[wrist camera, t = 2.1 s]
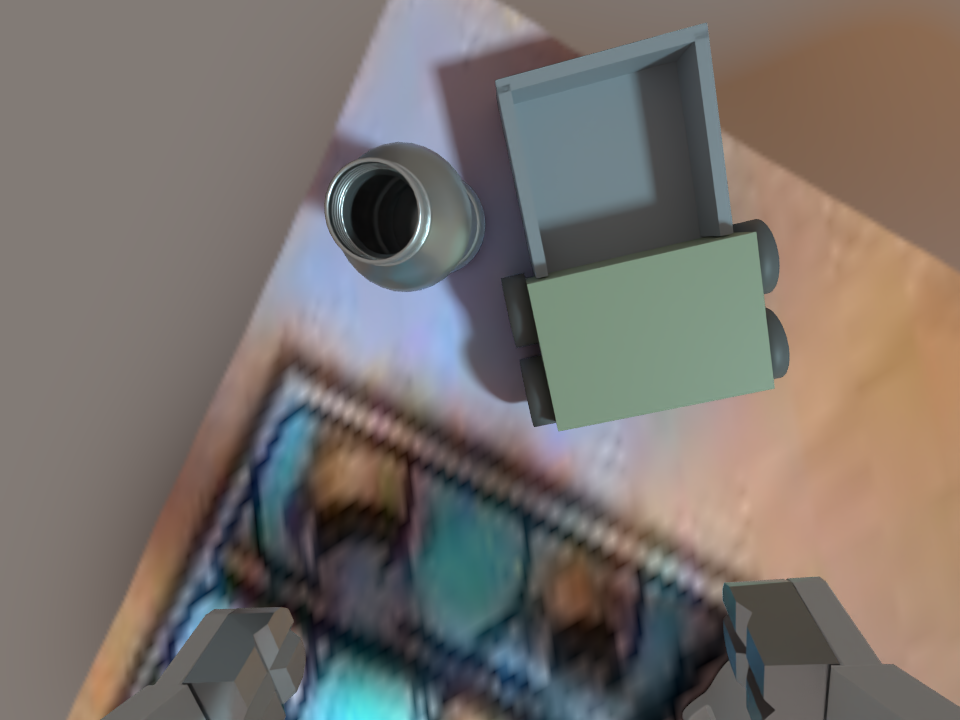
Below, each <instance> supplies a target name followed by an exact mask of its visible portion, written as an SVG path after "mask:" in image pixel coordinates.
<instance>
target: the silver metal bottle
mask: <svg viewBox="0 0 960 720" xmlns="http://www.w3.org/2000/svg"><path fill="white" fill-rule="evenodd" d="M324 207H325V219H326V224H327V227H328V229H329V232H330V234H331V236H332V238H333V239H334V241H335V243H336V244H337V245H338V246H339V247H340V248H341V249H342V251H343V252H344V254H345V256H346V257H347V259H348V261H349V262H350V263H351V264H352V265H353V267H354V268H355V269H356V270H357V271H358V272H359V273H360V274H361V275H362V276H364V277H365V278H366V279H368V280H369V281H370V282H372V283H374V284H376V285H378V286H380V287H382V288H386V289H389V290H393V291H401V292H411V291H418V290H422V289H425V288H428V287H431V286H433V285H435V284H436V283H438V282H440V281H441V280H443V279H444V278H445V277H447V276H448V275H449V274H450V273H451V272H454V271H457V270H459V269H461V268H462V267H464V266H465V265H467V264H468V263H469V262H470V261H471V260H472V259H473V258H474V256H475V255H476V254H477V252H478V251H479V248H480V246H481V244H482V242H483V238H484V234H485V216H484V211H483V208H482V204H481V202H480V200H479V198H478V196H477V194H476V193H475V192H474V191H473V189H472V188H471V187H470V186H469V185H468V184H467V183H465V182H464V181H463V180H461V179H460V177H459V175H458V174H457V172H456V171H455V170H454V169H453V167H452V166H451V165H450V164H449V163H448V162H447V161H446V160H445V159H444V158H442V157H441V156H440V155H439V154H437V153H436V152H434V151H432V150H430V149H428V148H426V147H424V146H420V145H417V144H413V143H403V142H395V143H389V144H384V145H381V146H379V147H376V148H374V149H371V150H370V151H368V152H367V153H365V154H364V155H362V156H361V157H359V158H358V159H357V160H355V161H352V162H350V163H348V164H347V165H345V166H344V167H342V168H341V169H340V170H339V171H338V172H337V174H336V175H335V176H334V178H333V179H332V181H331V182H330V184H329V187H328V190H327V192H326V197H325V203H324Z"/></svg>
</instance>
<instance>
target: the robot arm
mask: <svg viewBox="0 0 960 720" xmlns="http://www.w3.org/2000/svg"><path fill="white" fill-rule="evenodd" d="M723 602H724V604H725V607H726V609H727V612H728V615H727V616H726V617H725V618H724V619H723V628H724V638H725V644H726V650H727V654H728V658H729V661H728V662H727V663H726V664H725V665H724V666H723V667H722V669H721V670H720V671H719V673H718V674H717V676H716V677H715V679H714V681H713V682H712V684H711V686H710V687H709V689H708V690H707V691H706V692H705V693H704V694H702V695H701V696H700V697H698V698H697V699H695V700H694V701H693V702H692V703H690V704H689V705H688V706H687V707H686V708H685V709H684V711H683V714H682V717H683V720H960V707H959V706H957V705H956V704H954V703H953V702H951V701H950V700H948V699H946V698H945V697H943V696H942V695H940V694H939V693H937V692H936V691H934V690H933V689H931V688H929V687H928V686H926V685H925V684H923V683H922V682H920V681H919V680H917V679H916V678H914V677H912V676H911V675H909V674H908V673H906V672H905V671H903V670H902V669H900V668H899V667H897V666H895V665H894V664H882V663H881V661H880V660H879V659H878V657H877V656H876V654H875V653H874V651H873V650H872V648H871V647H870V645H869V644H868V642H867V641H866V639H865V638H864V637H863V635H862V634H861V632H860V631H859V629H858V628H857V626H856V625H855V623H854V622H853V620H852V619H851V617H850V616H849V615H848V613H847V612H846V610H845V609H844V607H843V606H842V604H841V603H840V601H839V600H838V598H837V597H836V596H835V594H834V593H833V591H832V590H831V588H830V587H829V585H828V584H827V582H826V581H825V580H823V579H822V578H821V577H805V578H790V579H786V580H785V579H774V580H759V581H743V582H728V583H724V586H723ZM293 622H294V620H293V618H292V616H291V614H290V612H289V609H288V608H282V607H272V608H237V609H214V610H213V611H211V612H210V613H208V614H206V615H205V617H204V618H203V619H202V621H201V622H200V624H199V625H198V626H197V628H196V629H195V630H194V632H193V633H192V635H191V636H190V637H189V639H188V640H187V641H186V643H185V644H184V646H183V647H182V648H181V650H180V651H179V652H178V654H177V655H176V657H175V658H174V659H173V661H172V662H171V663H170V665H169V666H168V668H167V669H166V670H165V672H164V673H163V674H162V676H161V677H160V679H159V680H158V681H157V683H156V684H155V685H151V686H146V687H145V688H143V689H142V690H141V691H139V692H138V693H137V694H135V695H134V696H132V697H131V698H130V699H128V700H127V701H126V702H124V703H123V704H121V705H120V706H119V707H117V708H116V709H115V710H113V711H112V712H110V713H109V714H108V715H106V716H105V717H104V718H102V719H101V720H284V718H285V716H286V714H285V709H284V703H285V702H286V701H287V700H288V699H289V698H290V697H292V696H293V695H294V694H295V693H296V692H297V689H298V687H299V685H300V682H301V680H302V678H303V673H304V667H305V661H306V658H305V649H304V645H303V643H302V640H301V638H300V637H299V636H297V635H296V634H295V633H294V632H292V631H291V630H290V629H291V627H292V624H293Z"/></svg>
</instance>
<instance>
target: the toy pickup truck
mask: <svg viewBox="0 0 960 720" xmlns="http://www.w3.org/2000/svg"><path fill="white" fill-rule="evenodd" d="M495 84H496V96H497V103H498V108H499V112H500V117H501V122H502V127H503V131H504V136H505V141H506V146H507V151H508V155H509V160H510V165H511V170H512V174H513V179H514V184H515V189H516V193H517V198H518V203H519V208H520V212H521V217H522V222H523V227H524V232H525V236H526V241H527V246H528V251H529V255H530V260H531V265H532V270H533V274H534V277H530V278H525V275H524V273H522V274H518V275H514V276H509V277H505V278H501V280H502V286H503V292H504V297H505V302H506V306H507V311H508V316H509V320H510V324H511V329H512V333H513V337H514V341H515V345H516V348H518V347H523V346H528V345H532V344H537V343H539V347H540V352H541V355H539V356H534V357H530V358H525V359H520V366H521V372H522V377H523V382H524V387H525V391H526V396H527V401H528V405H529V409H530V414H531V418H532V422H533V425H534V427H537V426H542V425H547V424H552V423H556V424H557V428H558V431H563V430H568V429H573V428H578V427H583V426H588V425H594V424H599V423H604V422H609V421H614V420H619V419H624V418H629V417H634V416H639V415H644V414H649V413H654V412H659V411H664V410H669V409H674V408H679V407H684V406H689V405H694V404H699V403H704V402H709V401H714V400H719V399H724V398H729V397H734V396H739V395H744V394H749V393H754V392H759V391H765V390H770V389H775V387H774V379H776V378H781V377H783V376H784V375H785V374H786V372H787V370H788V366H789V346H788V341H787V337H786V334H785V331H784V329H783V326H782V324H781V322H780V321H779V319H778V317H777V316H776V315H775V314H774V312H772V311H771V310H770V309H768V308H765V302H764V294H767V293H770V292H771V291H773V289H774V288H775V286H776V284H777V281H778V277H779V255H778V249H777V245H776V242H775V239H774V237H773V234H772V233H771V231H770V229H769V228H768V226H767V225H766V224H765V223H764V222H763V221H761V220H758V219H755V220H750V221H746V222H742V223H737V224H732V216H731V209H730V201H729V193H728V185H727V177H726V169H725V161H724V153H723V145H722V137H721V129H720V121H719V114H718V106H717V98H716V90H715V82H714V74H713V66H712V58H711V50H710V42H709V35H708V27H707V23H703V24H700V25H696V26H692V27H688V28H685V29H681V30H677V31H674V32H670V33H666V34H663V35H659V36H655V37H652V38H649V39H644V40H641V41H637V42H633V43H630V44H626V45H622V46H619V47H615V48H611V49H608V50H604V51H601V52H597V53H593V54H589V55H586V56H582V57H579V58H575V59H571V60H568V61H564V62H560V63H557V64H553V65H549V66H546V67H542V68H538V69H535V70H531V71H527V72H524V73H520V74H516V75H513V76H509V77H505V78H502V79H498V80H495Z"/></svg>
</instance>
